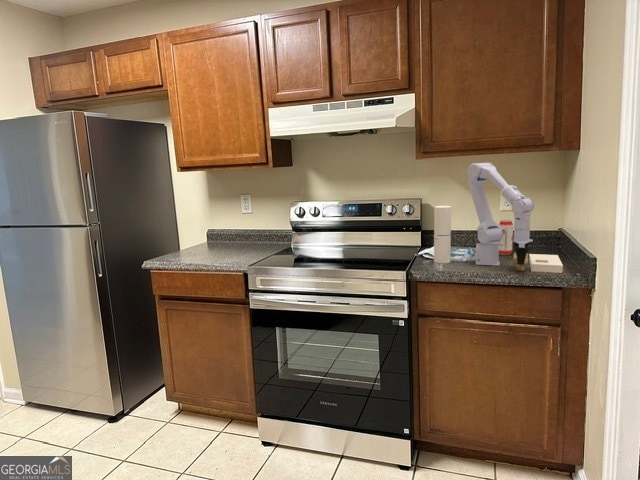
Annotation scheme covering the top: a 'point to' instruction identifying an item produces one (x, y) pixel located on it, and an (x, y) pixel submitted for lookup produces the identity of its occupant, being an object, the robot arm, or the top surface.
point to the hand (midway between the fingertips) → (520, 261)
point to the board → (545, 263)
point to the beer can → (506, 237)
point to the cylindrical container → (442, 234)
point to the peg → (520, 266)
